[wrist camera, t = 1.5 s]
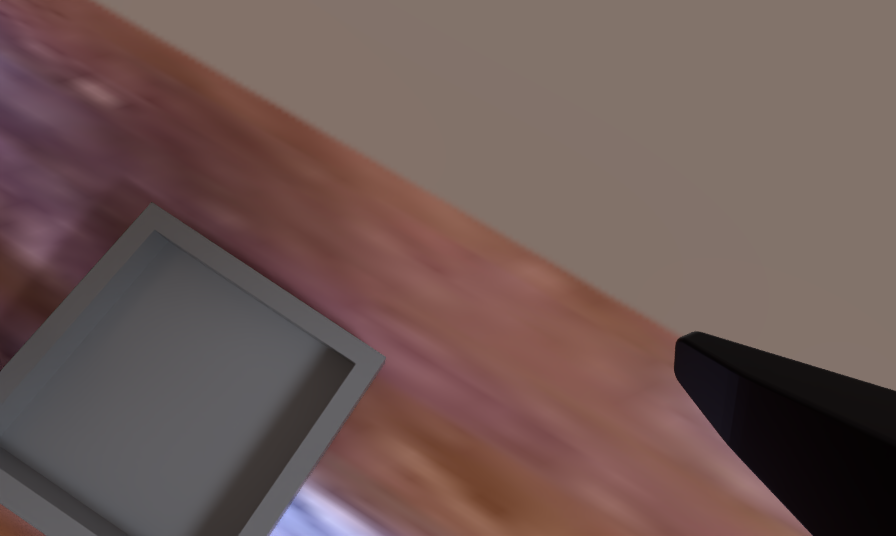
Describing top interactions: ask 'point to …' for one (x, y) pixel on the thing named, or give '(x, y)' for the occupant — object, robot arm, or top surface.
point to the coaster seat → (173, 395)
